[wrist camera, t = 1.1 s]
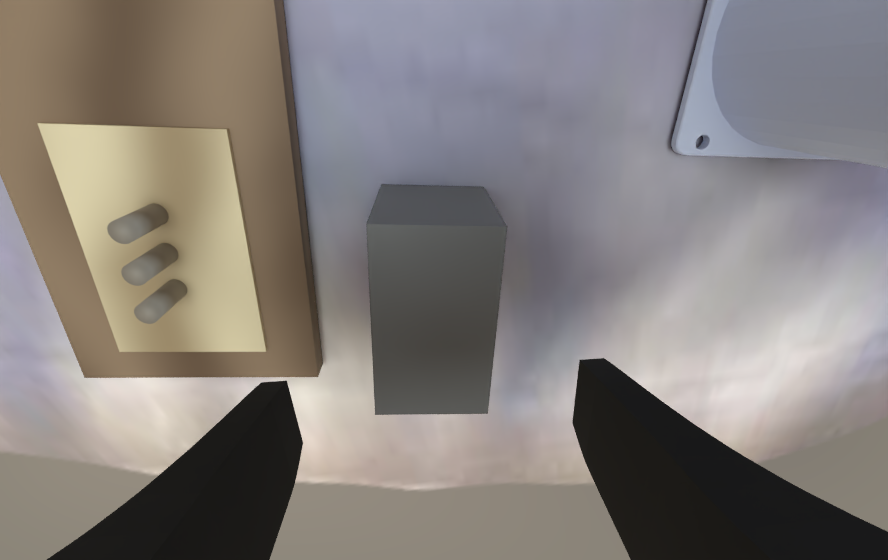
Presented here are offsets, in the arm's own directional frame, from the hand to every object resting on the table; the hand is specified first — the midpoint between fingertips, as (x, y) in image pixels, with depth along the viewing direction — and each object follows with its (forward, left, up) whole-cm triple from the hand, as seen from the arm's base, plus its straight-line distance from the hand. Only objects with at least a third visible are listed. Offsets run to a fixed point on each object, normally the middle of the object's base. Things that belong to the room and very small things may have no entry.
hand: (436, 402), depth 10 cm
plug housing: (0, 0, -8) cm, 8 cm away
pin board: (+10, -5, -8) cm, 14 cm away
